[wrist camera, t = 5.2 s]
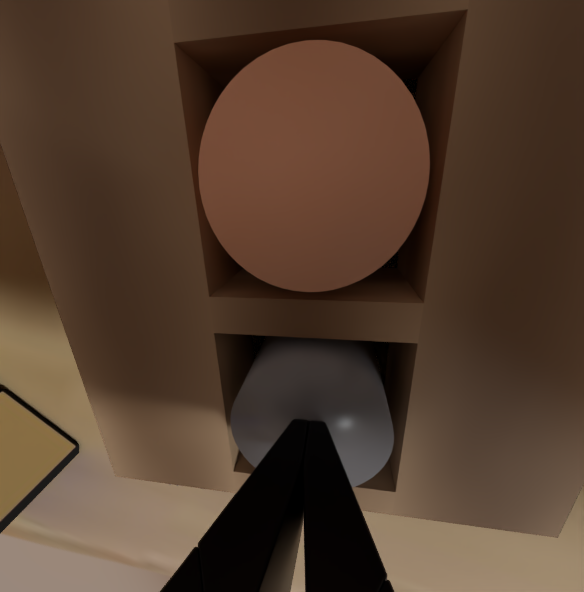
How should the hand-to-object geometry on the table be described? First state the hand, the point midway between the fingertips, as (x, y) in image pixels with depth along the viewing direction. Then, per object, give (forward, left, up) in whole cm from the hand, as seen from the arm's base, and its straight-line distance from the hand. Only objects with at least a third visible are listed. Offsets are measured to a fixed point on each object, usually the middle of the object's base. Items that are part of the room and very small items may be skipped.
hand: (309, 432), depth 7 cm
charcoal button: (0, 0, -3) cm, 3 cm away
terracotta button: (0, -6, -3) cm, 7 cm away
